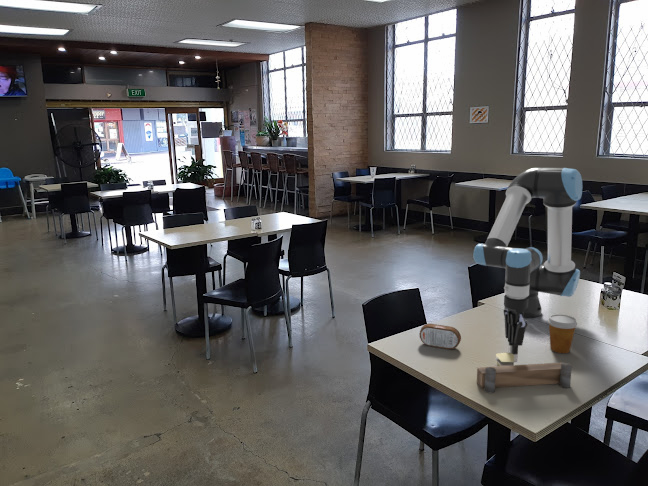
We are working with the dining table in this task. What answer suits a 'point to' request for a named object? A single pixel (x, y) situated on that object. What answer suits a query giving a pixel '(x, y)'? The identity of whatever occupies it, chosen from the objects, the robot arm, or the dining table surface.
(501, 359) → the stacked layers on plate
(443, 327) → the tin
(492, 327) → the dining table surface
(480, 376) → the bar
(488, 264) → the robot arm
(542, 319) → the dining table surface
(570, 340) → the disposable coffee cup
